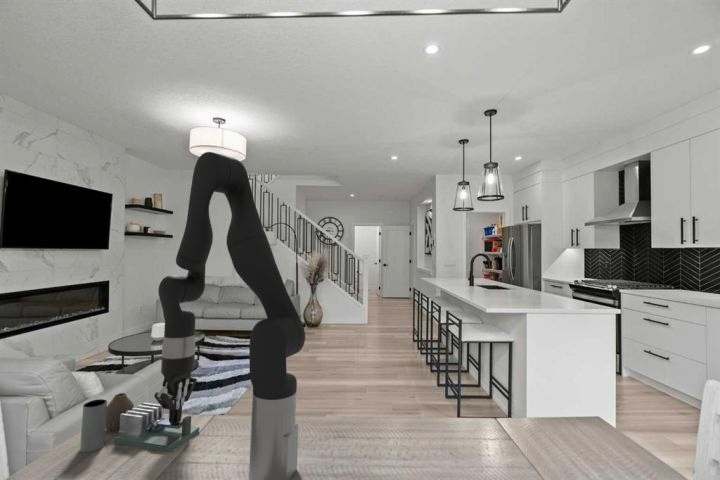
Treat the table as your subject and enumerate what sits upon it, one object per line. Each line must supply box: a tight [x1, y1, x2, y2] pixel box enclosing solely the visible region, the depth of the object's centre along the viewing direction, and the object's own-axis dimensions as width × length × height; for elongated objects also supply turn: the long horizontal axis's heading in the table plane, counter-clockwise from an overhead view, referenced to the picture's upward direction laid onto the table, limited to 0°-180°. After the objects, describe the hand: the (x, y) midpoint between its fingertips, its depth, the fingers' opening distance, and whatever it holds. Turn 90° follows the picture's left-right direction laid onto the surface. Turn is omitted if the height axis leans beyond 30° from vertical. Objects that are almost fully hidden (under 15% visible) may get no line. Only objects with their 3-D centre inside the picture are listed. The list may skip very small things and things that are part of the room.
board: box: [113, 425, 201, 453], centre depth 89 cm, size 16×10×1 cm, turn 79°
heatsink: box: [117, 402, 165, 439], centre depth 90 cm, size 8×8×5 cm
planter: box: [80, 398, 108, 453], centre depth 84 cm, size 4×4×10 cm
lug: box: [180, 415, 192, 436], centre depth 89 cm, size 2×2×4 cm
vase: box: [105, 392, 135, 433], centre depth 93 cm, size 7×7×9 cm
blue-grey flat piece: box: [152, 416, 182, 429], centre depth 90 cm, size 7×3×1 cm, turn 79°
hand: (175, 422), depth 90 cm, fingers closed
